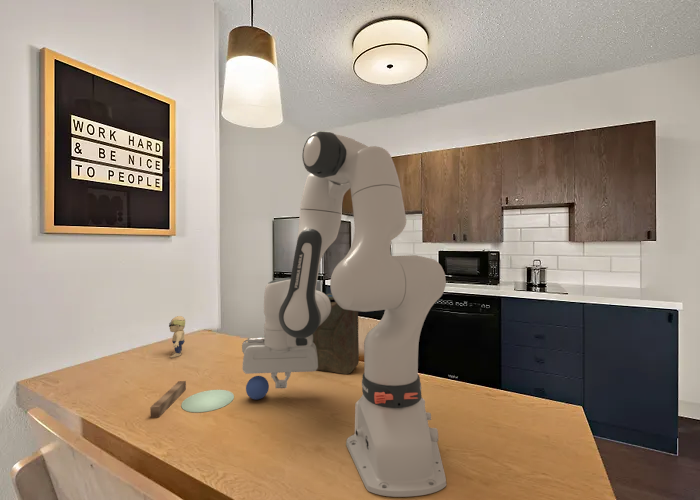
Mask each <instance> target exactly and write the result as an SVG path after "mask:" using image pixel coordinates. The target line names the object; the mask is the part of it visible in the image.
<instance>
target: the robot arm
mask: <svg viewBox="0 0 700 500" xmlns="http://www.w3.org/2000/svg"><path fill="white" fill-rule="evenodd" d="M301 156H302V163H303V166H304V168H305V170H306V171H307V172H309V174H308V175H307V176H306V180H305V183H304V186H303V191H302V194H301V201H300V207H299V208H300V209H299V221H298V230H297V231H298V232H297V239H296V245H295V246H296V247H295V251H294V256H293V263H292V268H291V275H290V277H284V278H278V279H274V280H270V281H269V282H268V283H267V284H266V286H265V289H264V297H263V313H264V316H265V317H264V318H265V321H264V325H263V335H264V336H263V337H256V338H254V337H248V338H247V339H246V340H244V341H243V342H242V345H241V352H242V354H243V356H242V357H243V358H242V371H243V373H245V375H246V374H247V375H248V374H249V375H250V374H271V375H270V376H271V379H272V380H273V382H274V383H275V389H287V387H288V380H289V379H290V377H291V374H292V373H303V372H305V373H306V372H316V371H318V370H317V368H318V356H317V350H316V346H315V344H314V343H313V333H314V332H315V331H316V329H317V328H318V327H319V326H320V325H321V324H322V323H323V322H324V321H325V320H326V319H327V318H328V316H329V315H330V312H331V302H332V301H331V300H330V299H329V298H328V296H327V294H326V293H325V292H323V291H321V290H317V284H318V283H317V282H318V278H319V272H320V271H319V269H320V264H321V261H322V258H323V256H324V255H325V252H326V251H327V250H328V248H329V247H330V246H331V245H332V244H333V243H334V242H335V241H336V239H337V237H338V234H339V231H340V227H341V222H342V213H343V200H344V196H345V194H346V193H347V192H348V191H349V190H350V196H351V202H352V212H353V225H354V233H353V234H354V235H353V239H352V244H351V246H350V248H349V250H348V252H347V253H346V255H345V256H344V257H343V258H342V260H340V261H339V262H338V263H337V264H336V266H335V267H334V269H333V271H332V274H331V277H330V281H329V282H330V283H329V285H330V287H329V288H330V294H332V295H333V298H334V300H333V301H334V302H336V303H337V304H338V305H339V306H340V307H341V308H343V309H346V310H353V311H358V312H363V313H364V312H365V313H367V312H374V311H376V312H377V311H383V310H384V312H383V313H384V314H383V315H382V318H381V319H380V321H379V322H378V323H377V324H376V325H375V326H374V327H372V329H371V328H370V330H369V331H368V332H367V334H366V336H365V339H364V342H363V349H364V350H363V351H364V352H363V355H364V357H363V358H364V359H363V360H364V361H363V364H364V369H363V370H364V371H363V373H362V377H361V378H362V379H361V387H362V389H361V391H362V395H361V397H360V398H359V399H358V400H357V401H356V402H355V404H354V405H355V406H354V407H355V409H354V410H355V411H354V434H352V435H350V436H348V437H347V438H346V442H345V446H346V448H347V450H348V452H349V454H350V456H351V458H352V460H353V463H354V465H355V468H356V469H357V471H358V474H359V476H360V478H361V480H362V482H363V485H364V487H365V489H366V490H367V491H368V492H370V493H372V494H376V495H380V496H384V497H385V496H386V497H394V498H395V497H396V498H397V497H398V498H402V497H403V498H404V497H405V498H407V497H408V498H409V497H418V496H419V497H420V496H424V495H430V494H434V493H436V492H439V491H441V490H443V489H444V488H445V487H446V486H447V480H446V479H447V478H446V473H445V469H444V465H443V461H442V458H441V453H440V449H439V444H438V442H439V429H438V428H436V427H431V426H430V427H429V421H431V420H432V414H431V412H427V411H426V401H425V399H424V398H423V396H422V383H421V377H420V375H419V370H418V369H419V342H420V336H421V332H422V328H423V326H424V322H425V320H426V318H427V316H428V314H429V312H430V310H431V308H432V307H433V306H434V305H435V303H436V302H437V301H439V299H440V298H441V297H442V296H443V295H444V292H445V289H446V285H447V281H446V279H447V278H446V273H445V271H444V269H443V266H442V265H441V264H440V263H439V262H438V261H437V260H436V259H433V258H429V257H425V256H422V255H413V254H412V255H411V254H410V255H392V254H391V244H392V243H391V242H392V240H394V239H395V238H397V237H399V235H401V233H402V232H403V231H404V230H405V227H406V224H407V217H406V216H407V215H406V211H405V204H404V199H403V192H402V188H401V183H400V178H399V175H398V171H397V168H396V165H395V163H394V161H393V160H394V159H393V158H392V155H391V154H390V153H389V151H388V150H387V149H385V148H383V147H382V146H381V147H380V146H376V145H375V146H373V145H371V146H368V145H366V144H364V143H362V142H359V141H357V140H355V138H354V139H353V138H351V137H349V136H348V137H347V136H345V135H339V134H335V133H334V132H332V131H325V130H318V131H317V130H316V131H315V132H313V133H311V134H310V136H309V137H307V140H306V141H305V143H304V146H303V148H302V155H301ZM279 373H282V374H283V373H284V376H285V378H284V379H279V378H278V374H279Z"/></svg>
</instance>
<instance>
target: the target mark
mask: <svg viewBox="0 0 700 500" xmlns="http://www.w3.org/2000/svg"><path fill="white" fill-rule="evenodd" d="M234 397H235V394H234V393H233V392H232V391H231V390H227V389H226V390H225V389H210V390H205V391H200V392H197V393H194V394H192V395H189V396H188V397H186V398H185V399H184V400H183V401H182V402H181V406H180V407H181V408H182V410H184V411H186V412H189V413H207V412H211V411H216V410H219V409H222V408H224V407H226V406H228V405H229V404H230V403H232V402H233V401H234V400H235V399H234Z"/></svg>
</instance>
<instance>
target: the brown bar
mask: <svg viewBox="0 0 700 500" xmlns="http://www.w3.org/2000/svg"><path fill="white" fill-rule="evenodd" d="M186 381H187V380H181V381H180V380H179V381H177V382H176V383H175V384H174V385H173V386H172V387H171V388H169V389H168V391H165V393H164V394H163V395H162V396H161V397H159V399H158V400H156V401H155V402H154V403H153V404H152V405H151V406H150V407H149V408H150V409H149V410H150V418H160V417H161V416H162V415H163V414H164V413H165V412H166V411H167V410H168V409H169V407H170V406H171V405H172V404H173V403H174V402H175V401H176V400H177V399H179V397H180V396H182V394H183V393H184V392H185V391H186V390H187V382H186Z"/></svg>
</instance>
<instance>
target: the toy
mask: <svg viewBox="0 0 700 500" xmlns="http://www.w3.org/2000/svg"><path fill="white" fill-rule="evenodd" d="M168 324H169V325H168V327H169V332H171V333H173V335H172V340H171V341H172V348H174V352H172V353H171V355H170V356H169V358H178V357H180V356H181V355H182V353H183V345H184V343H185V330H184V329H185V327H186V318H185V317H184V316H181V315H178V316H175V317H173V318H172V319H171V321H170V322H169V323H168Z"/></svg>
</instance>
